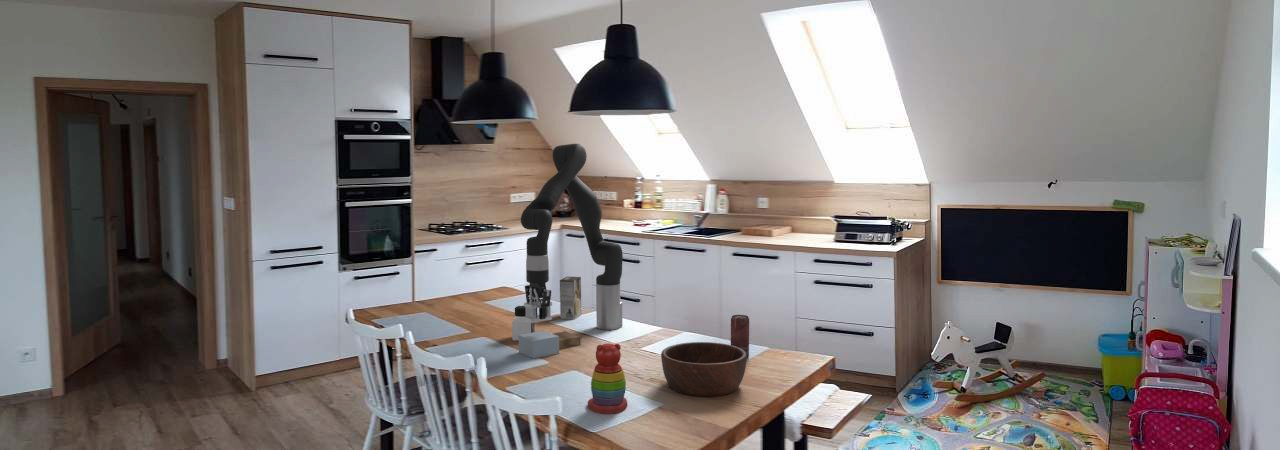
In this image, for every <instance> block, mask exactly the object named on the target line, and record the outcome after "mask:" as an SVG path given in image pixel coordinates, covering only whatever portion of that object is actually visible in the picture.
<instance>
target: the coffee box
mask: <svg viewBox="0 0 1280 450" xmlns="http://www.w3.org/2000/svg"><path fill="white" fill-rule="evenodd" d="M581 278H582V276H565V277H563V278H562V279H560V280H559V307H560V308H559V310H560V315H559V316H560V319H561V320H563V319H564V320H576V319H577V318H579V317H580V316H581V315H582V279H581ZM575 318H576V319H575Z"/></svg>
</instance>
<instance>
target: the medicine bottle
mask: <svg viewBox="0 0 1280 450" xmlns="http://www.w3.org/2000/svg"><path fill="white" fill-rule="evenodd" d="M524 317H526V307H524V304H521V305H516V306H515V307H514V319H513V320H512V321H511V338H512V339H511V340H512V341H513V342H514V341H515V342H516V341H518V342H519V339H518V335H522V334H528V333H534V332H536V331H535V328H536V327H535V322H534V323H530V322H528V321H525V320H524Z"/></svg>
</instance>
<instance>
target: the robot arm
mask: <svg viewBox="0 0 1280 450" xmlns="http://www.w3.org/2000/svg"><path fill="white" fill-rule="evenodd" d="M587 156H588V155H587V151H586V148H585V147H584V146H583V145H582V144H581V143H569V144H560V145H556V146H555V147H554V148H553V150H552V161H553V164H554V166H555V168H556V170H557V173H555V174H554V175H553V176H552V177H551V178H549V180H547V181H546V183H544V184H543V186H542V187H541V189H540V191H539V193H538V195H537V196H536V198H535V199H534V200H532V201H531V202H530V203H529V204H528V205H527V206H526V207H525V209H524V210H523V211H522V213H521V217H520V223H521V226H522V228H524V229H525V230H531V231H533V230H534V231H537V233H536V236H531V237H528V238H527V239H526V258H525V259H526V261H525V263H526V264H525V267H526V268H525V269H526V271H525V272H526V273H525V275H526V276H525V277H526V278H525V280H526V283H529V284H527V285H524V292H525V293H524V294H525V299H526V302H533V301H537V302H538V304H539V308H536V315H539V319H545V318H546V308H547V307H549V306H550V302H551V300H552V299H551V296H552V290H551V289H547V286H546V283H548V282H549V281H550V275H549V274H550V271H549V269H550V268H549V256H548V254H549V253H548V248H549V247H548V244H549V239H550V233H551V230H552V225H553V221H554V220H553V216H552V213H551V212H553V210H554V209H555V208H556V206H557V204H558V202H559V201H560V198H561V197H562V195H563V193H564V192H565V190H566V191H567V193H568V195H569V198H570V199H571V203H572V205H573V208H574V210H575V211H574V212H576V215H577V217H578V220H579V222H580V225H581V227H582V228H581V229H582V230H583V233H584V236H585V238H586V242H587V246H588V250H589V253H590V255H591V259H592V261H593V262H594V263H595V264H596V265H599V266H603V267H604V272H603V273H602V274H599V275H597V276H596V278H595V288H596V289H595V290H596V291H595V295H596V304H595V306H596V307H595V308H596V309H595V310H596V313H595V314H596V329H598V330H604V331H605V330H606V331H608V330H609V331H612V330H617V329H620V328H622V327H623V302H621V278H622V275H623V259H624V257H623V249H622V246H621V245H620V244H619V243H617V242H612V241H611V242H610V241H605V239H604V238H603V235H602V232H601V228H600V226H601V222H602V216H603V214H602V213H603V212H602V207H601V205H600V204H601V203H600V202H599V199H598V197H597V195H596V193H595V192H594V191H593V190H592V189H591V188H590V187H589V186H588V185H587V184H585V183H584V182H583V181H582V180H581V179H580V178H579V177H578V174H579V172H580V171H581V170H582V169H583V167H584V166H585V164H586V162H587ZM541 301H542V304H541ZM546 301H547V303H546ZM550 307H551V306H550Z"/></svg>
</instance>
